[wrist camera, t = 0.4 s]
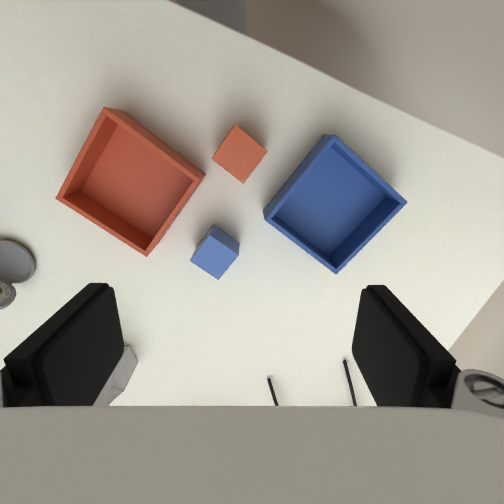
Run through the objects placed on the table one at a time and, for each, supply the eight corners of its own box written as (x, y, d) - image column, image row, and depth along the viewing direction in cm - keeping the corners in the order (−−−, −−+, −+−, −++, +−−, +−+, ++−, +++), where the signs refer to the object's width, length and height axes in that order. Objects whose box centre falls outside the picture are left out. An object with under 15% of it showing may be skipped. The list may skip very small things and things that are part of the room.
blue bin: (324, 134, 35) (334, 134, 31) (390, 195, 38) (408, 202, 34) (262, 210, 39) (264, 219, 34) (327, 260, 42) (336, 274, 37)
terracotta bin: (121, 110, 34) (103, 106, 30) (206, 174, 37) (200, 179, 33) (77, 191, 37) (55, 198, 33) (157, 244, 40) (146, 257, 36)
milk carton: (91, 352, 47) (53, 404, 38) (130, 345, 47) (101, 396, 38) (100, 368, 49) (66, 423, 39) (138, 362, 48) (112, 415, 39)
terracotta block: (236, 125, 35) (235, 123, 31) (265, 149, 36) (267, 151, 32) (215, 156, 36) (211, 158, 32) (243, 178, 37) (243, 183, 33)
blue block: (213, 224, 39) (209, 234, 35) (239, 243, 40) (238, 255, 36) (195, 248, 41) (189, 260, 36) (221, 265, 42) (218, 279, 38)
